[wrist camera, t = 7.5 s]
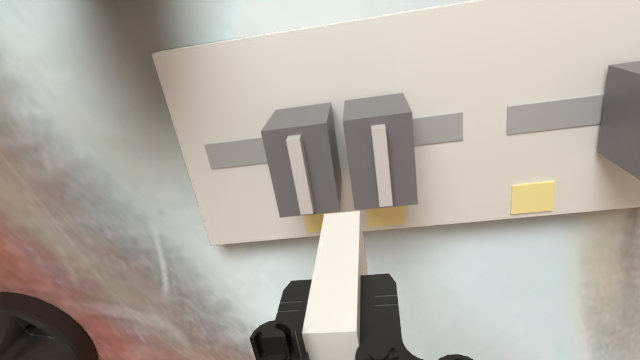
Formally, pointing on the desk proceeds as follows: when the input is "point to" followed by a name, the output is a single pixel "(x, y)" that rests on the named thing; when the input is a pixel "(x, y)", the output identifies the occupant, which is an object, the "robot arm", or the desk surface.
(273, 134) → the slider
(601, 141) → the slider
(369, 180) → the slider
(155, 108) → the desk surface
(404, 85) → the console
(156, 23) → the desk surface
